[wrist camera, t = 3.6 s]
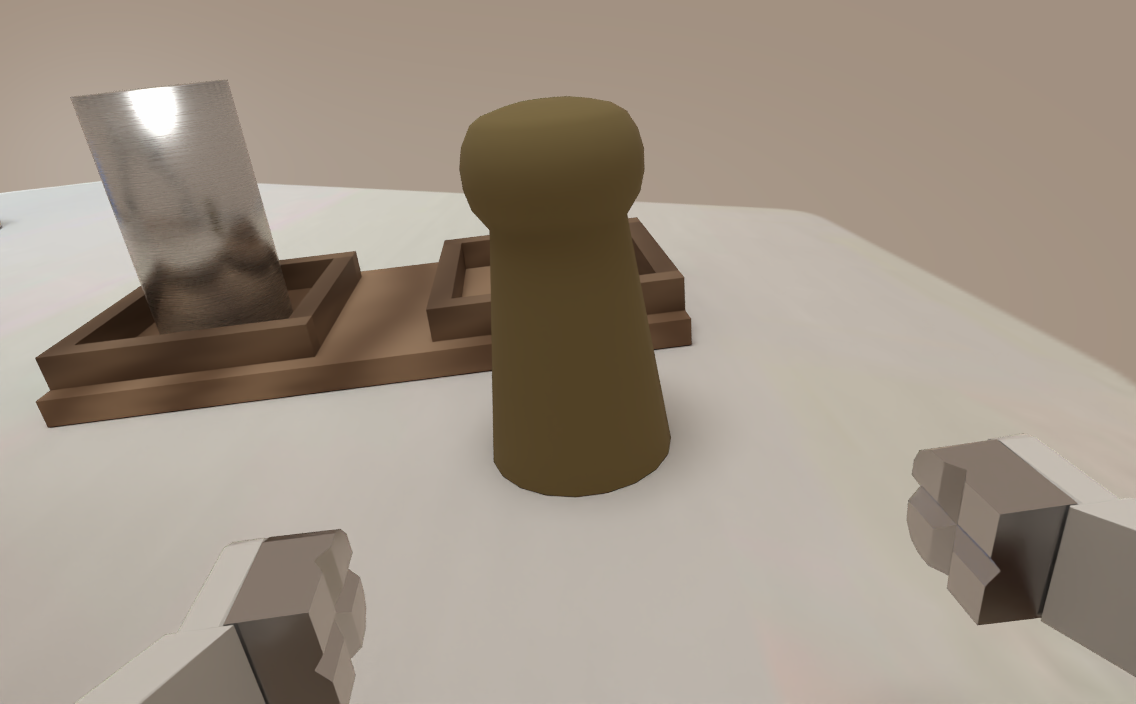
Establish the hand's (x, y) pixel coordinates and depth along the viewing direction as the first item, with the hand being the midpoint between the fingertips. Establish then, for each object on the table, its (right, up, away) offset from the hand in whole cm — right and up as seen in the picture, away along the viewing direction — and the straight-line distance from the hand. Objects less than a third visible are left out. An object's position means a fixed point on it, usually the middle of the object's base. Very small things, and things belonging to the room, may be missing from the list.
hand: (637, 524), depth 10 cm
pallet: (-10, +4, +25) cm, 27 cm away
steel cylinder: (-18, +4, +24) cm, 30 cm away
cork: (-1, -1, +14) cm, 14 cm away
